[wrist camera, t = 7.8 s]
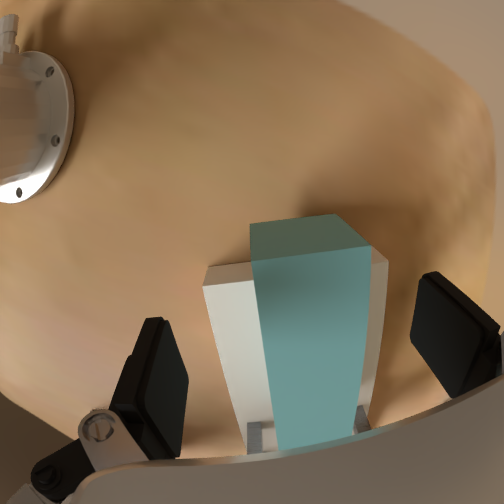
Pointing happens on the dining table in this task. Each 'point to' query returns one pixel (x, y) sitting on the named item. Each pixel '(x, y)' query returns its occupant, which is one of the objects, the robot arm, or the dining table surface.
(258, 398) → the white base plate
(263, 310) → the block
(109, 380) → the dining table surface
